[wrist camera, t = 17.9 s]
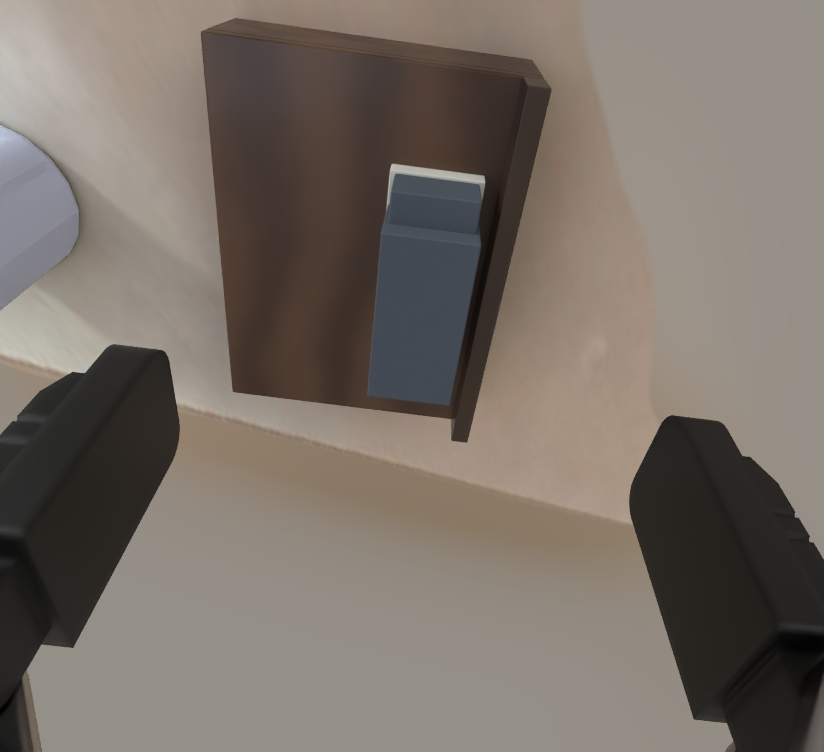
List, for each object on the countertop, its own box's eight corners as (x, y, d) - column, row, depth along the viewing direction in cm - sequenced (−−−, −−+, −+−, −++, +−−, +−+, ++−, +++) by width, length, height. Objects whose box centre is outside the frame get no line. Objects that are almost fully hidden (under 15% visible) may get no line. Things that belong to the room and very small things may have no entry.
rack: (253, 348, 41) (222, 413, 35) (234, 18, 29) (182, 37, 23) (465, 374, 41) (467, 443, 36) (532, 59, 29) (551, 88, 24)
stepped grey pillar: (450, 360, 35) (450, 409, 31) (374, 351, 35) (365, 399, 31) (484, 175, 28) (489, 210, 24) (391, 163, 28) (383, 196, 24)
